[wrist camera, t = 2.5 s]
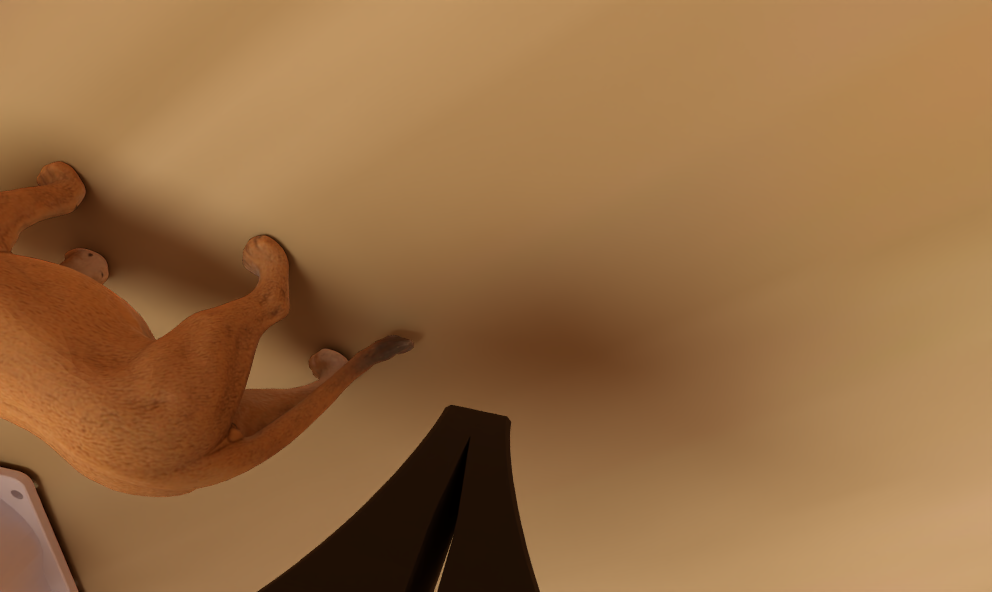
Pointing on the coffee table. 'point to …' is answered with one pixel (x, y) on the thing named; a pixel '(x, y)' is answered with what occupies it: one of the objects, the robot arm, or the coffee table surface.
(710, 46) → the coffee table surface
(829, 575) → the coffee table surface
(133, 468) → the lion figurine
